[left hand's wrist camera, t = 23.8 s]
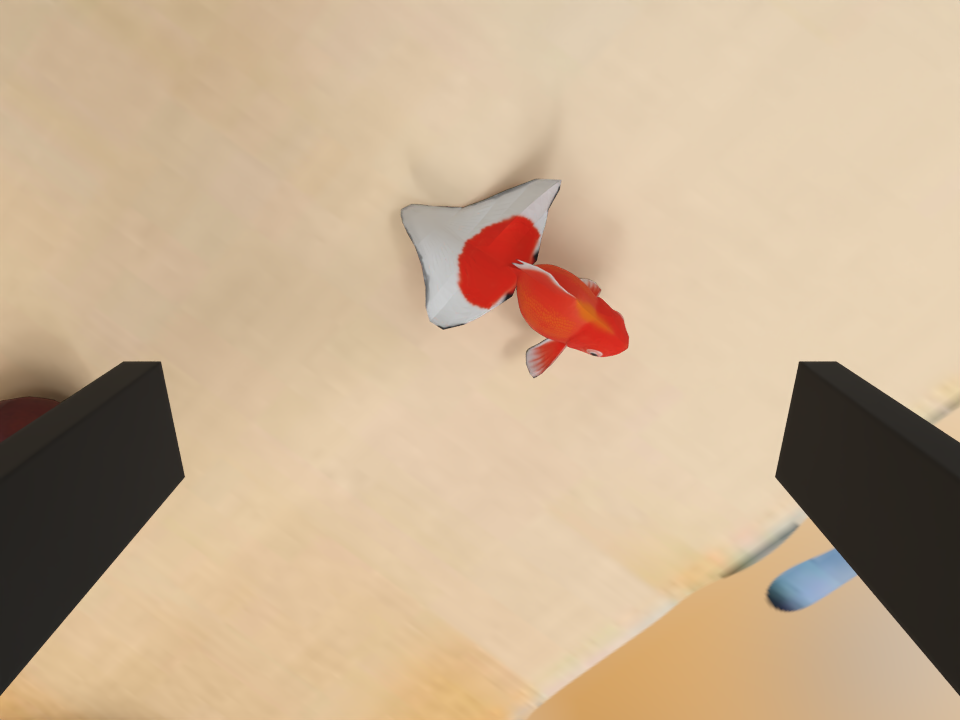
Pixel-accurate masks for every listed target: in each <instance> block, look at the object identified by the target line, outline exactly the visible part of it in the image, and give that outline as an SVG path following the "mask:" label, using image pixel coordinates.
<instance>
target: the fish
mask: <svg viewBox="0 0 960 720" xmlns="http://www.w3.org/2000/svg"><path fill="white" fill-rule="evenodd" d="M560 185H561V180H551V179H534V180H532V181H529V182H526V183H524V184H521V185H518V186H516V187H513V188H510V189H508V190H505V191H503V192H501V193H498V194H496V195H494V196H492V197H489V198H487V199H485V200H483V201H480V202H477V203H474V204H471V205H469V206H466V207H463V208H461V207H442V206H428V205H419V204H411V205H409V206H407V207H405V208H403V209H401V218H402V222H403V224H404V227H405V229H406V231H407V233H408V235H409V237H410V239H411V240H412V242H413V244H414V246H415V248H416V250H417V253H418V256H419V259H420V262H421V265H422V270H423V275H424V281H425V286H426V310H427V313H428V317H429V320H430V322H432V323H433V324H435V325H437V326H438V327H440V328H441V329H443V330H444V329H448V328H452V327H456V326H460V325H464V324H466V323H468V322H471V321H473V320H475V319H477V318H479V317H481V316H482V315H484V314H486V313H487V312H489V311H490V310H492V309H494V308H495V307H497V306H498V305H500V304H501V303H503V302H504V301H506V300H507V299H509V298H510V297H512V295H513V293H514V291H515V288H516V287H517V297H518V303H519V308H520V311H521V313H522V315H523V317H524V319H525V320H526V322H527V323H528V324H529V326H530V327H531V328H532V329H534V330H535V331H536V332H538V333H539V334H541V335H542V336H544V337H546V338H547V339H545V340H543V341H542V342H540V343H539V344H537V345H535V346H533V347H531V348H529V349H528V350H527V352H526V365H527V367H528V370H529V372H530V374H531V375H532V376H533V378H535V377H537V376H539V375H540V374H542V373H543V372H544V371H545V370H546V369H547V368H548V367H549V366H550V365H551V364H552V363H553V362H554V361H555V360H556V359H557V358H558V356H559V355H560V354H561V353H562V351H563V350H564V349H565V348H566V346H567V347H570V348H573V349H577V350H580V351H583V352H585V353H588V354H590V355H593V356H597V357H607V356H613V355H617V354H619V353H621V352H623V351H624V350H626V349H627V348H628V344H629V336H628V333H627V331H626V328H625V324H624V318H623V316H622V315H621V314H620V313H619V312H617V311H615V310H613V309H612V308H611V307H610V306H609V305H608V304H607V303H606V302H605V301H604V300H602V299H601V298H600V297H598V295H599V294H600V292H601V289H600V288H599V287H598V285H597V284H596V283H595V282H594V281H591V280H589V279H581V278H580V279H579V278H578V277H576V276H575V275H573V274H572V273H570V272H568V271H566V270H564V269H562V268H560V267H557V266H554V265H548V264H540V265H533V264H534V263H535V262H536V261H537V257H538V252H539V248H540V243H541V238H542V234H543V231H544V227H545V224H546V219H547V214H548V210H549V208H550V206H551V204H552V202H553V200H554V199H555V197H556V195H557V193H558V191H559V189H560Z"/></svg>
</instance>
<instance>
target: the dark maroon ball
mask: <svg viewBox="0 0 960 720" xmlns="http://www.w3.org/2000/svg"><path fill="white" fill-rule="evenodd" d="M58 404H60V403H59V402H57V401H55V400H51V399H45V398H38V397H23V398H16V399H9V400H3V401H0V443H1V442H2V441H4V440H5V439H7V438H8V437H10V436H11V435H13V434H14V433H16V432H17V431H19V430H20V429H22V428H23V427H25V426H26V425H28V424H29V423H31V422H32V421H34V420H35V419H37V418H39V417H40V416H42V415H43V414H45V413H46V412H48V411H49V410H51V409H52V408H54V407H55V406H57V405H58Z"/></svg>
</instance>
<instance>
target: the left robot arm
mask: <svg viewBox="0 0 960 720" xmlns="http://www.w3.org/2000/svg"><path fill="white" fill-rule="evenodd" d="M184 477H185V475H184V471H183V466H182V461H181V456H180V451H179V447H178V442H177V437H176V432H175V427H174V423H173V418H172V413H171V408H170V403H169V399H168V394H167V389H166V384H165V379H164V374H163V370H162V365H161V362H122V363H121V364H119V365H118V366H116V367H115V368H113V369H111V370H110V371H108V372H107V373H105V374H104V375H102V376H101V377H99V378H98V379H96V380H95V381H93V382H92V383H90V384H89V385H87V386H86V387H84V388H83V389H81V390H80V391H78V392H77V393H75V394H73V395H72V396H70V397H69V398H67V399H66V400H64V401H63V402H61V403H60V404H58V405H57V406H55V407H54V408H52V409H51V410H49V411H48V412H46V413H45V414H43V415H42V416H40V417H39V418H37V419H35V420H34V421H32V422H31V423H29V424H28V425H26V426H25V427H23V428H22V429H20V430H19V431H17V432H16V433H14V434H13V435H11V436H10V437H8V438H7V439H5V440H4V441H2V442H1V443H0V696H1V694H2V693H3V692H4V691H5V690H6V688H7V687H8V686H9V685H10V684H11V682H12V681H13V680H14V679H15V678H16V677H17V675H18V674H19V673H20V672H21V671H22V669H23V668H24V667H25V666H26V665H27V663H28V662H29V661H30V660H31V659H32V658H33V656H34V655H35V654H36V653H37V652H38V650H39V649H40V648H41V647H42V646H43V645H44V643H45V642H46V641H47V640H48V639H49V637H50V636H51V635H52V634H53V633H54V631H55V630H56V629H57V628H58V627H59V626H60V624H61V623H62V622H63V621H64V620H65V618H66V617H67V616H68V615H69V614H70V613H71V611H72V610H73V609H74V608H75V607H76V605H77V604H78V603H79V602H80V601H81V599H82V598H83V597H84V596H85V595H86V594H87V592H88V591H89V590H90V589H91V588H92V586H93V585H94V584H95V583H96V582H97V581H98V579H99V578H100V577H101V576H102V575H103V573H104V572H105V571H106V570H107V569H108V567H109V566H110V565H111V564H112V563H113V562H114V560H115V559H116V558H117V557H118V556H119V554H120V553H121V552H122V551H123V550H124V548H125V547H126V546H127V545H128V544H129V543H130V541H131V540H132V539H133V538H134V537H135V535H136V534H137V533H138V532H139V531H140V530H141V528H142V527H143V526H144V525H145V524H146V522H147V521H148V520H149V519H150V518H151V516H152V515H153V514H154V513H155V512H156V511H157V509H158V508H159V507H160V506H161V505H162V503H163V502H164V501H165V500H166V499H167V498H168V496H169V495H170V494H171V493H172V492H173V490H174V489H175V488H176V487H177V486H178V484H179V483H180V482H181V481H182V480H183V479H184ZM775 477H776V479H777V480H778V481H779V482H780V483H781V484H782V486H783V487H784V488H785V489H786V490H787V492H788V493H789V494H790V495H791V496H792V498H793V499H794V500H795V501H796V502H797V503H798V505H799V506H800V507H801V508H802V509H803V511H804V512H805V513H806V514H807V515H808V516H809V518H810V519H811V520H812V521H813V522H814V524H815V525H816V526H817V527H818V528H819V530H820V531H821V532H822V533H823V534H824V535H825V537H826V538H827V539H828V540H829V541H830V542H831V544H832V545H833V546H834V547H835V549H836V550H837V551H838V552H839V553H840V554H841V556H842V557H843V558H844V559H845V560H846V562H847V563H848V564H849V565H850V566H851V567H852V569H853V570H854V571H855V572H856V573H857V575H858V576H859V577H860V578H861V579H862V581H863V582H864V583H865V584H866V585H867V586H868V588H869V589H870V590H871V591H872V592H873V594H874V595H875V596H876V597H877V598H878V599H879V601H880V602H881V603H882V604H883V605H884V607H885V608H886V609H887V610H888V611H889V613H890V614H891V615H892V616H893V617H894V618H895V620H896V621H897V622H898V623H899V624H900V626H901V627H902V628H903V629H904V630H905V631H906V633H907V634H908V635H909V636H910V637H911V639H912V640H913V641H914V642H915V643H916V644H917V646H918V647H919V648H920V649H921V650H922V652H923V653H924V654H925V655H926V656H927V658H928V659H929V660H930V661H931V662H932V663H933V665H934V666H935V667H936V668H937V669H938V671H939V672H940V673H941V674H942V675H943V677H944V678H945V679H946V680H947V681H948V682H949V684H950V685H951V686H952V687H953V688H954V690H955V691H956V692H957V693H958V694H959V696H960V443H959V442H958V441H956V440H955V439H953V438H952V437H950V436H949V435H947V434H946V433H944V432H943V431H941V430H940V429H938V428H937V427H935V426H934V425H932V424H931V423H929V422H928V421H926V420H925V419H923V418H921V417H920V416H918V415H917V414H915V413H914V412H912V411H911V410H909V409H908V408H906V407H905V406H903V405H902V404H900V403H899V402H897V401H896V400H894V399H893V398H891V397H890V396H888V395H887V394H885V393H883V392H882V391H880V390H879V389H877V388H876V387H874V386H873V385H871V384H870V383H868V382H867V381H865V380H864V379H862V378H861V377H859V376H858V375H856V374H855V373H853V372H852V371H850V370H849V369H847V368H845V367H844V366H842V365H841V364H839V363H838V362H799V365H798V370H797V374H796V379H795V384H794V389H793V394H792V399H791V403H790V408H789V413H788V418H787V423H786V427H785V432H784V437H783V442H782V447H781V451H780V456H779V461H778V466H777V471H776V475H775Z"/></svg>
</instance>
